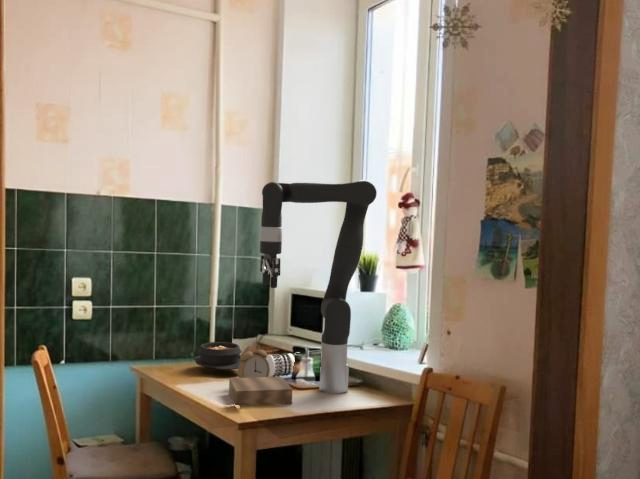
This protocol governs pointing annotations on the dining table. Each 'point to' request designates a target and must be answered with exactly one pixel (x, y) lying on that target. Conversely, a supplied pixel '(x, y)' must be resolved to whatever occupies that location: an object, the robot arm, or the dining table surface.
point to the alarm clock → (253, 364)
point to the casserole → (219, 356)
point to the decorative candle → (281, 364)
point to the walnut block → (260, 391)
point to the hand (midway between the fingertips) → (269, 286)
